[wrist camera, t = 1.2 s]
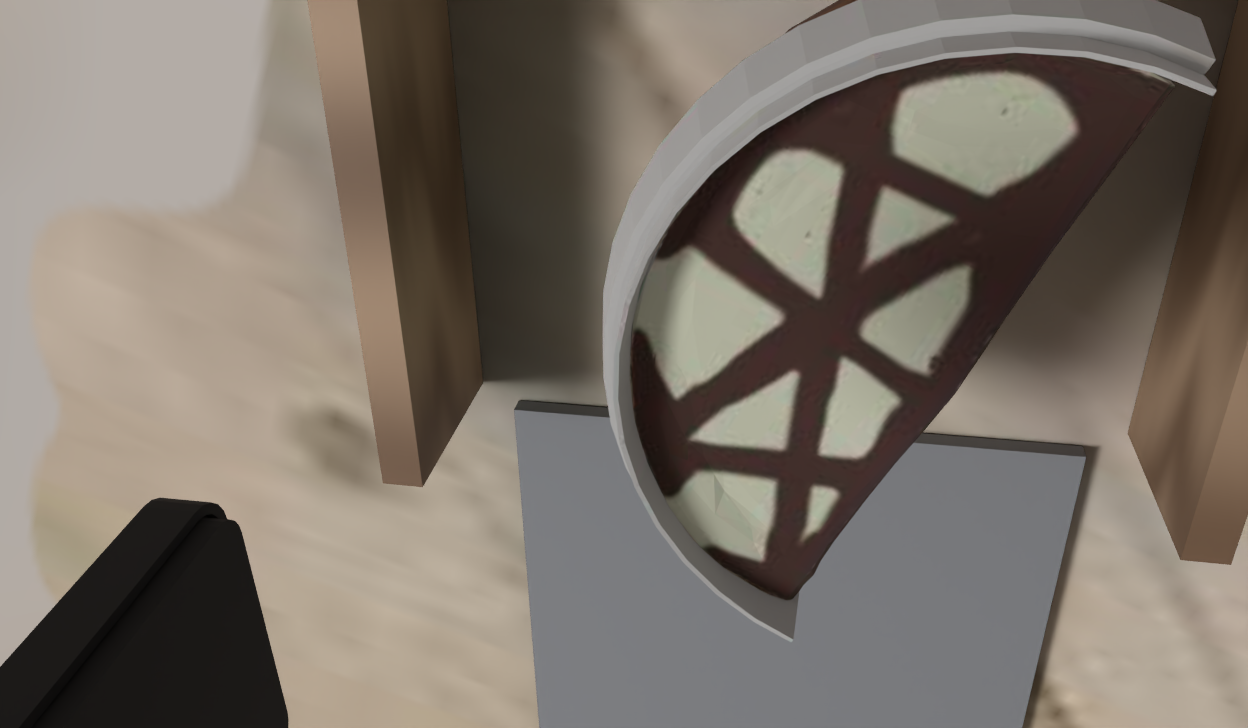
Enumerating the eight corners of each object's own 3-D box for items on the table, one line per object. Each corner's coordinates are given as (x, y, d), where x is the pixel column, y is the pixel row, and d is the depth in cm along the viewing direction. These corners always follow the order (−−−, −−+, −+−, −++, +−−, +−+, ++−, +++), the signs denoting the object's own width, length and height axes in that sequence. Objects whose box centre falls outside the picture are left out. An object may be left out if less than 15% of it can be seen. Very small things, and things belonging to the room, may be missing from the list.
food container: (823, -204, 22) (808, -177, 13) (1089, -64, 22) (1247, 52, 13) (588, 284, 28) (474, 519, 19) (798, 386, 28) (777, 661, 20)
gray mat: (998, 808, 34) (999, 821, 34) (545, 747, 37) (541, 758, 36) (1082, 445, 28) (1086, 457, 27) (518, 400, 30) (514, 409, 30)
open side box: (1169, 436, 27) (1230, 564, 23) (449, 379, 30) (383, 483, 26) (1379, -314, 19) (1534, -334, 15) (373, -286, 22) (261, -296, 18)
